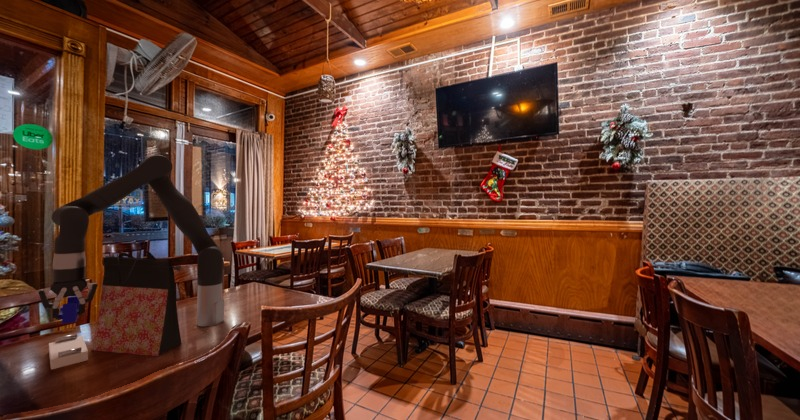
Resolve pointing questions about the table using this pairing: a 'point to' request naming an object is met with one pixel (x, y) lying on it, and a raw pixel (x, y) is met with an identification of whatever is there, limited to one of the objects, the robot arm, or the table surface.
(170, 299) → the gift bag
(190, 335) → the table surface
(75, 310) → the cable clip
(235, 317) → the table surface
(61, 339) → the white slotted block
